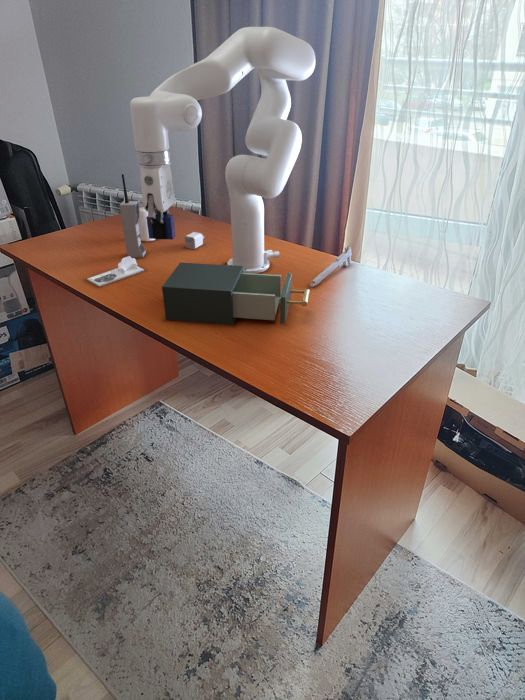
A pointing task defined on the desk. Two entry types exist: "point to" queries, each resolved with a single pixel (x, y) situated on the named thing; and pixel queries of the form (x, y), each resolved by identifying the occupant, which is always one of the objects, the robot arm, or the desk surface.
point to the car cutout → (117, 272)
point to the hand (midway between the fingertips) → (162, 235)
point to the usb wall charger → (194, 240)
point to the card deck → (169, 226)
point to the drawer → (264, 296)
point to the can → (143, 223)
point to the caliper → (334, 265)
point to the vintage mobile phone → (131, 226)
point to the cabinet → (201, 293)
